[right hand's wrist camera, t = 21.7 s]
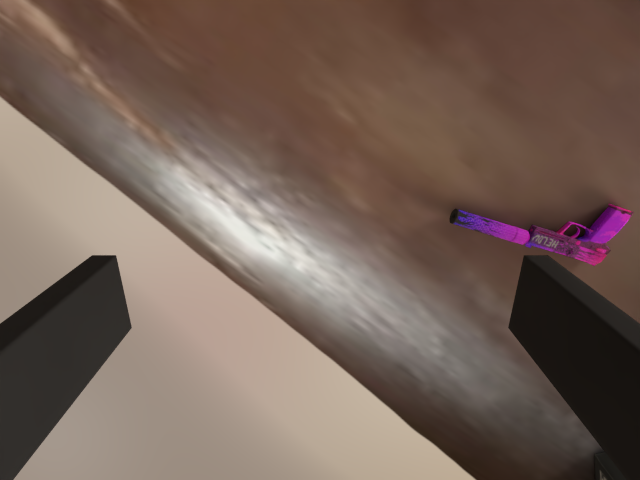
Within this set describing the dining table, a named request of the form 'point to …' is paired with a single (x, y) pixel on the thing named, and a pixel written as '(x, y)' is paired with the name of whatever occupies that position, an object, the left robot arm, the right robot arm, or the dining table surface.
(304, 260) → the dining table surface
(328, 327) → the dining table surface
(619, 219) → the handgun
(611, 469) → the router box
